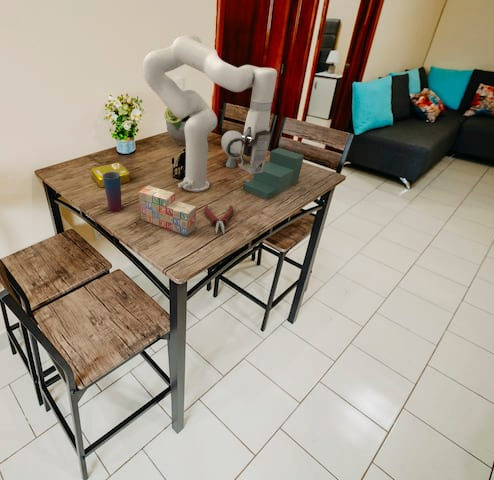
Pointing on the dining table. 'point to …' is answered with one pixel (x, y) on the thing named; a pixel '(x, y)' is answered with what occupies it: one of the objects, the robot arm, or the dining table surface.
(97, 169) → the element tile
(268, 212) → the dining table surface
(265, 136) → the coffee box
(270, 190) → the step shelf
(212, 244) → the dining table surface
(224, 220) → the pliers
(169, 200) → the stack of blocks
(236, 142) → the white rounded piece
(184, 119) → the potted succulent plant
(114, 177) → the cup
